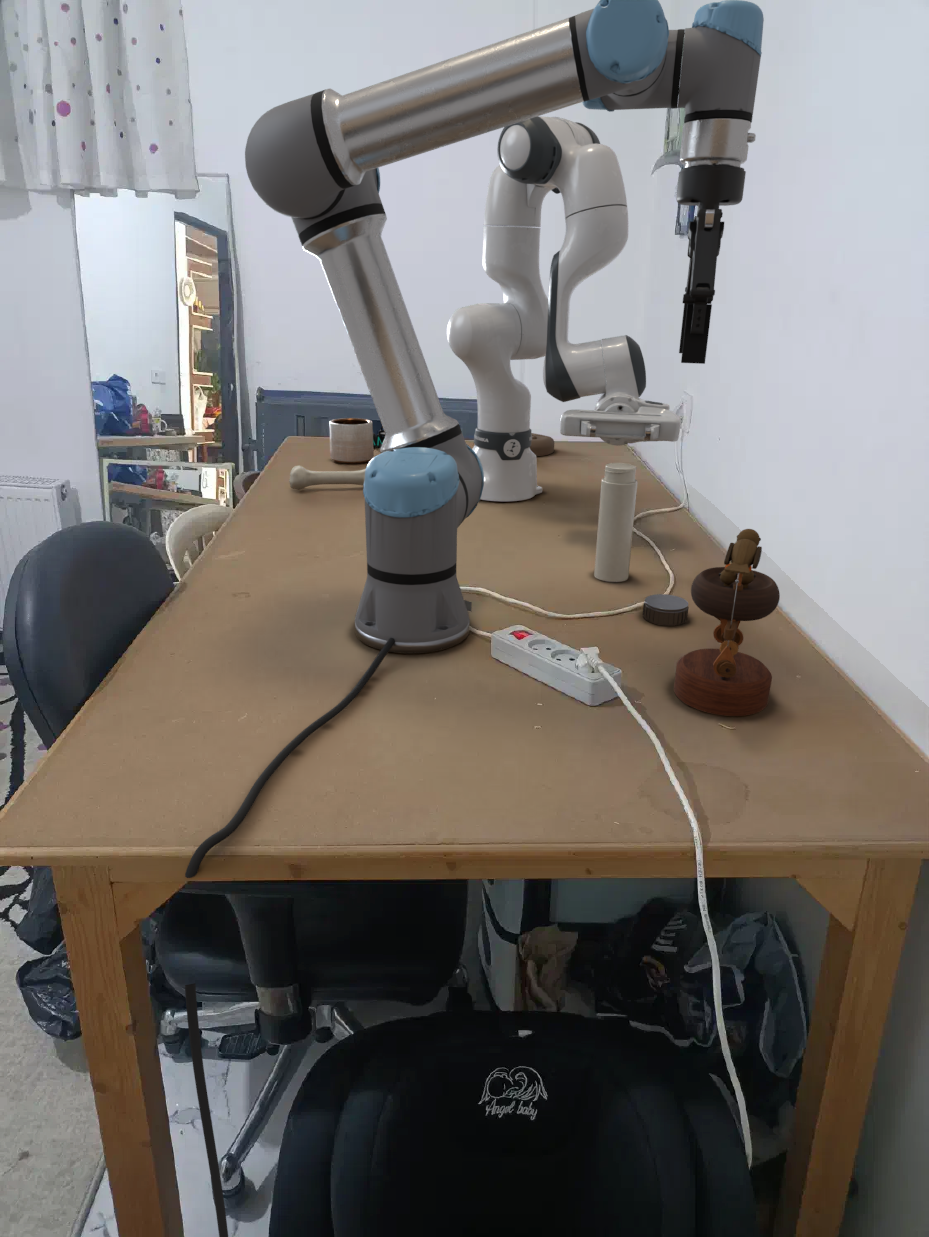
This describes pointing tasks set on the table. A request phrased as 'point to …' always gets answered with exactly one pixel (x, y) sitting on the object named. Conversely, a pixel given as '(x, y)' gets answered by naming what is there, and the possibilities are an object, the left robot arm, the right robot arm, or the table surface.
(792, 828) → the table surface
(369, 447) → the planter
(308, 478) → the dog toy
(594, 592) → the table surface
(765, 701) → the brown wooden sculpture
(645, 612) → the lid
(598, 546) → the bottle
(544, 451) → the ice cream bar
